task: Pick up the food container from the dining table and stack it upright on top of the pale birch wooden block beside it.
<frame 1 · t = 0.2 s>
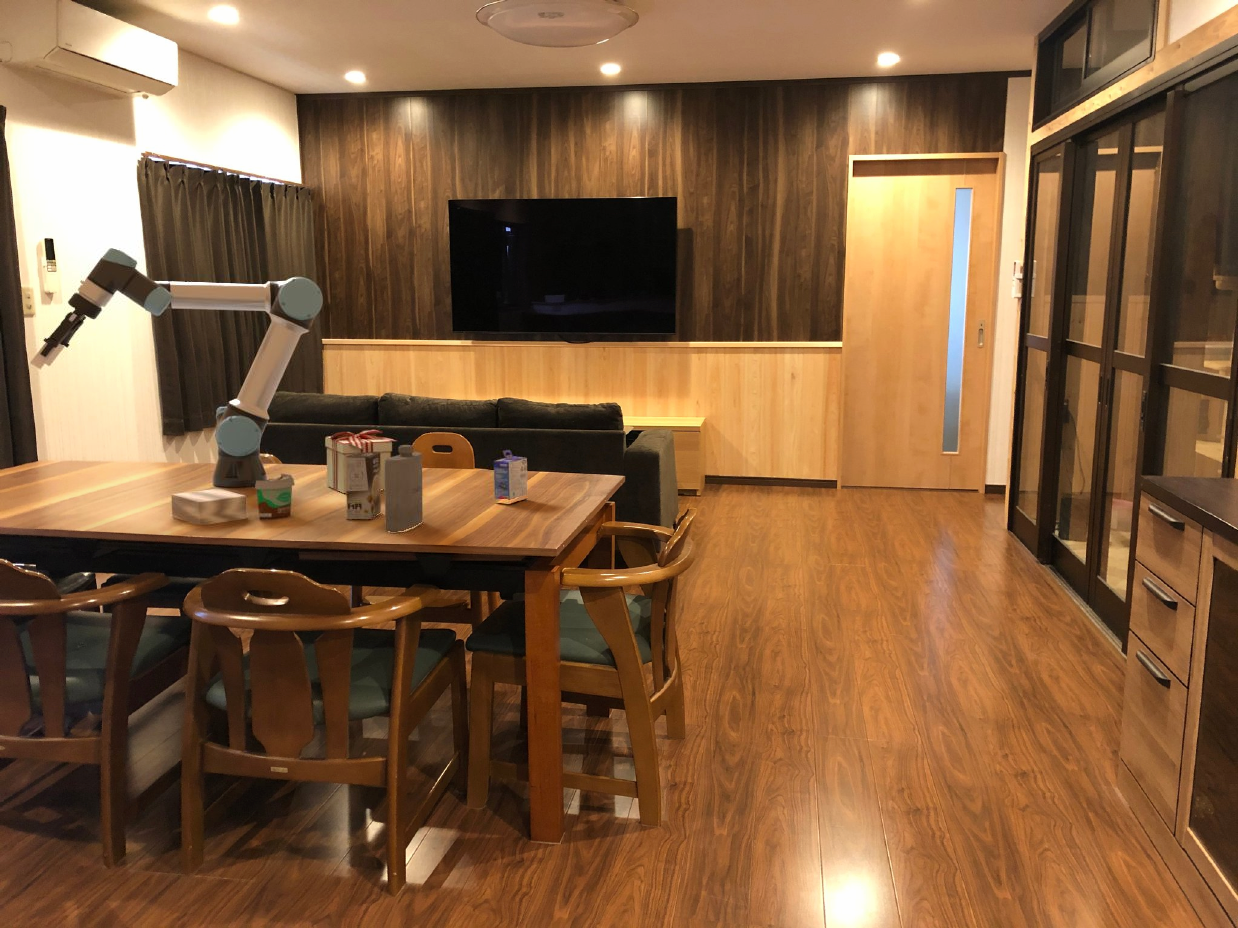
hand: (39, 364, 249), 36 cm above the table, tool tilted 35°, fingers open, 13 cm apart
gift box: (363, 489, 281), on the table
coffee box: (364, 517, 243), on the table
birch block: (209, 518, 237), on the table
flask: (406, 527, 232), on the table
food container: (281, 517, 240), on the table
ink cartridge box: (510, 502, 267), on the table
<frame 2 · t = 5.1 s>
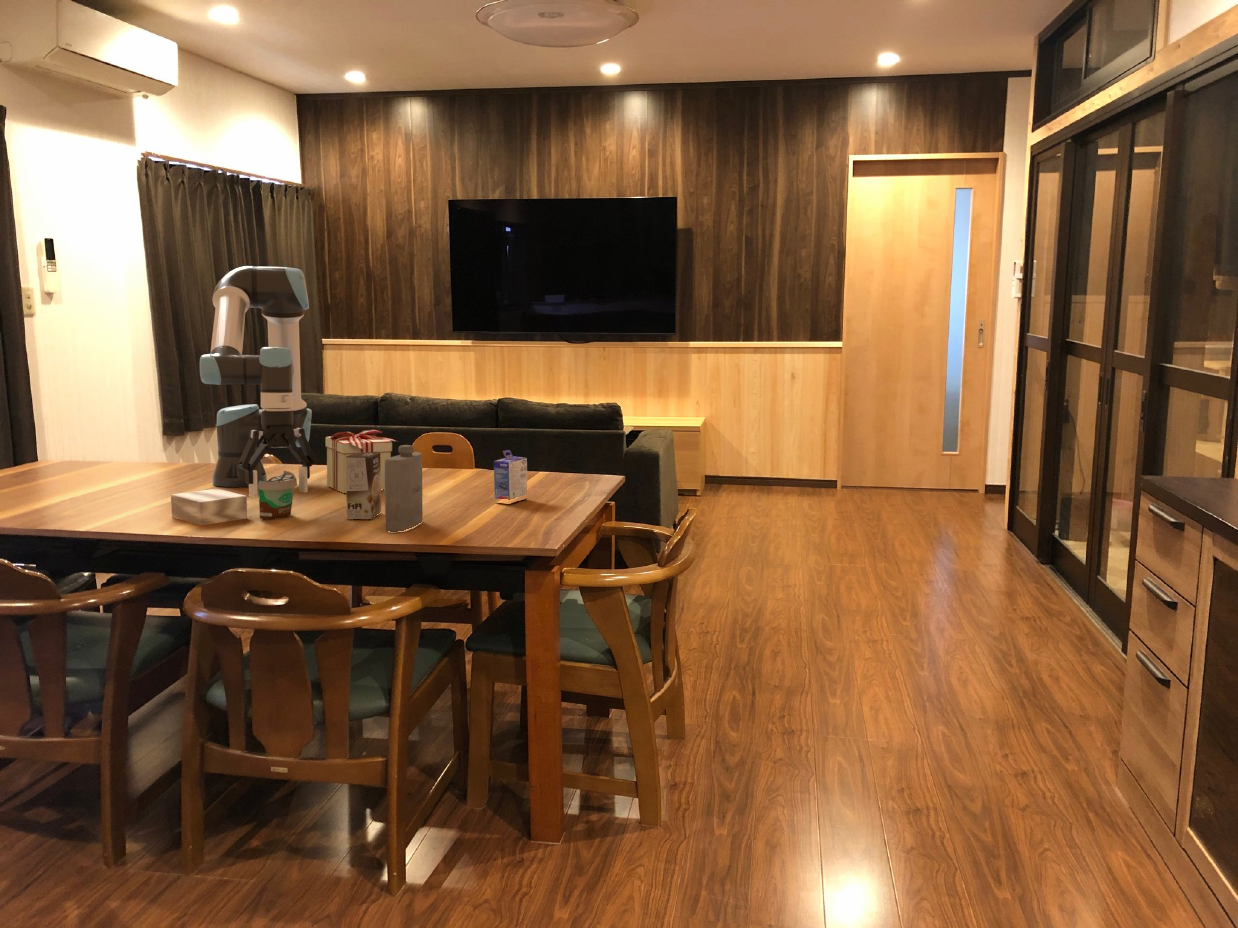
hand: (278, 494, 238), 6 cm above the table, tool pointing down, fingers open, 13 cm apart
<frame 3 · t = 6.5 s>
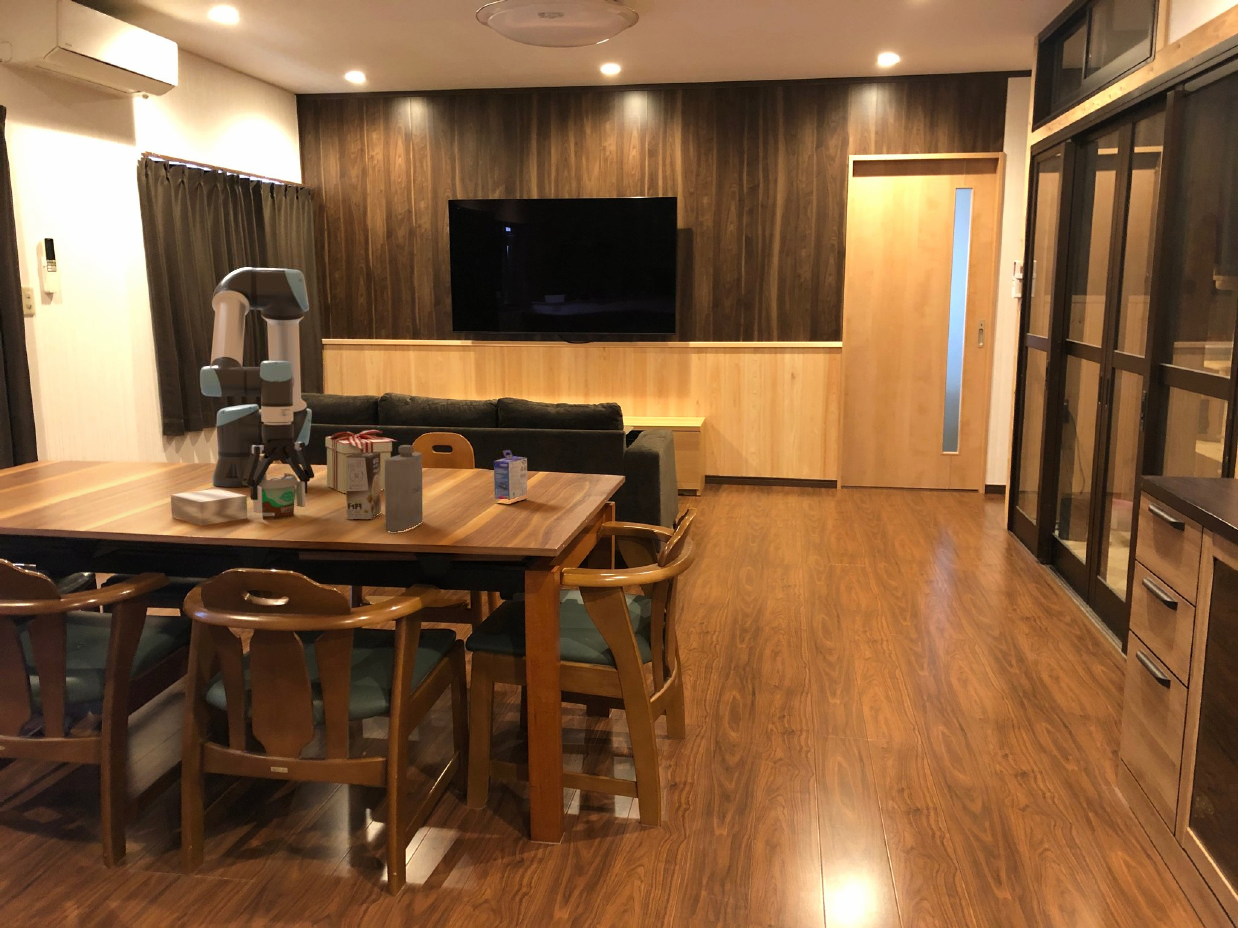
hand: (279, 509, 239), 2 cm above the table, tool pointing down, fingers closed on food container, 11 cm apart
food container: (284, 516, 241), on the table, touching gripper
everything else where it was.
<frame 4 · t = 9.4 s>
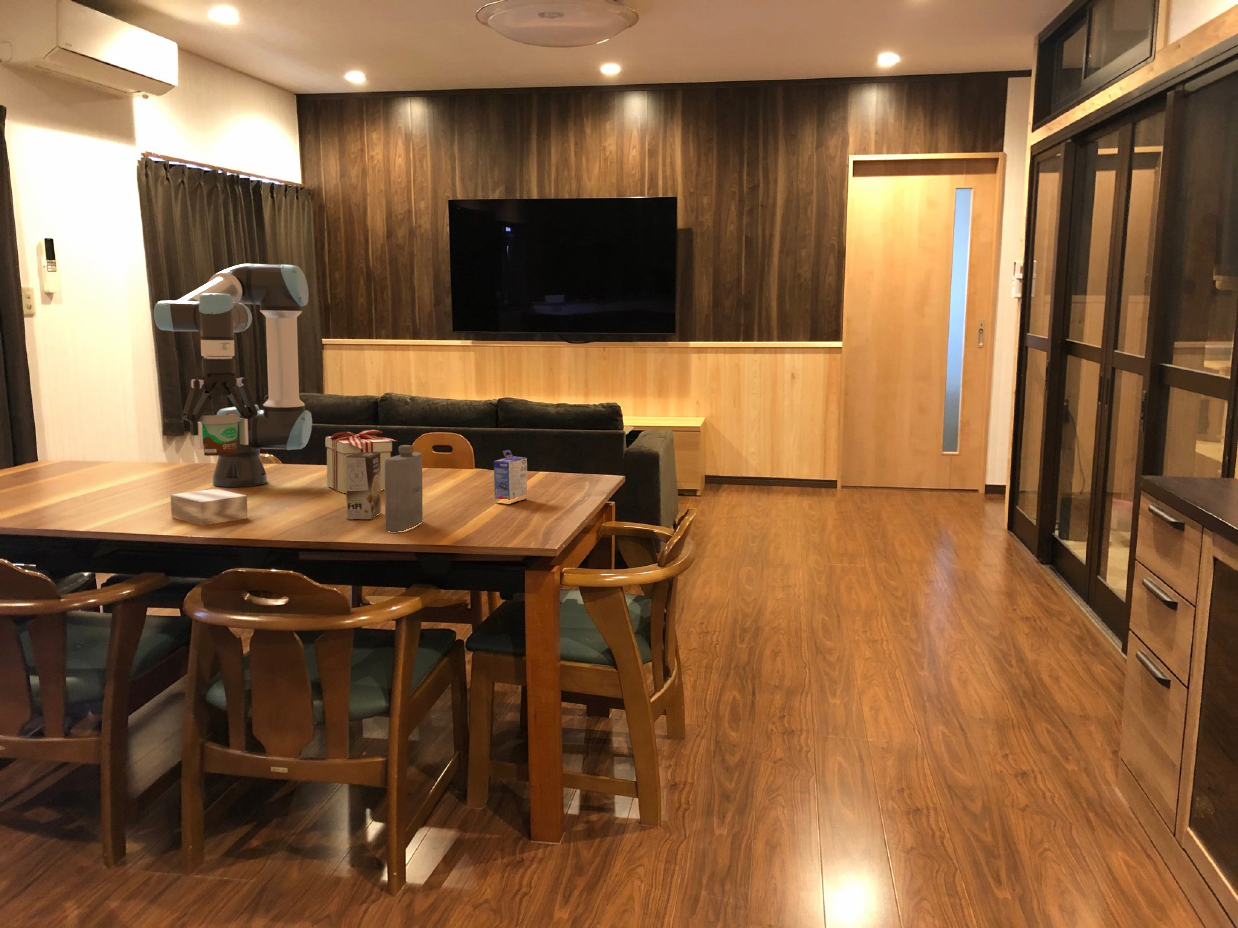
hand: (221, 446, 235), 18 cm above the table, tool pointing down, fingers closed on food container, 11 cm apart
food container: (226, 454, 237), point 16 cm above the table, touching gripper
everything else where it was.
when the fingers open (10 cm above the table, at t = 12.3 s): food container drops 2 cm, resting on birch block.
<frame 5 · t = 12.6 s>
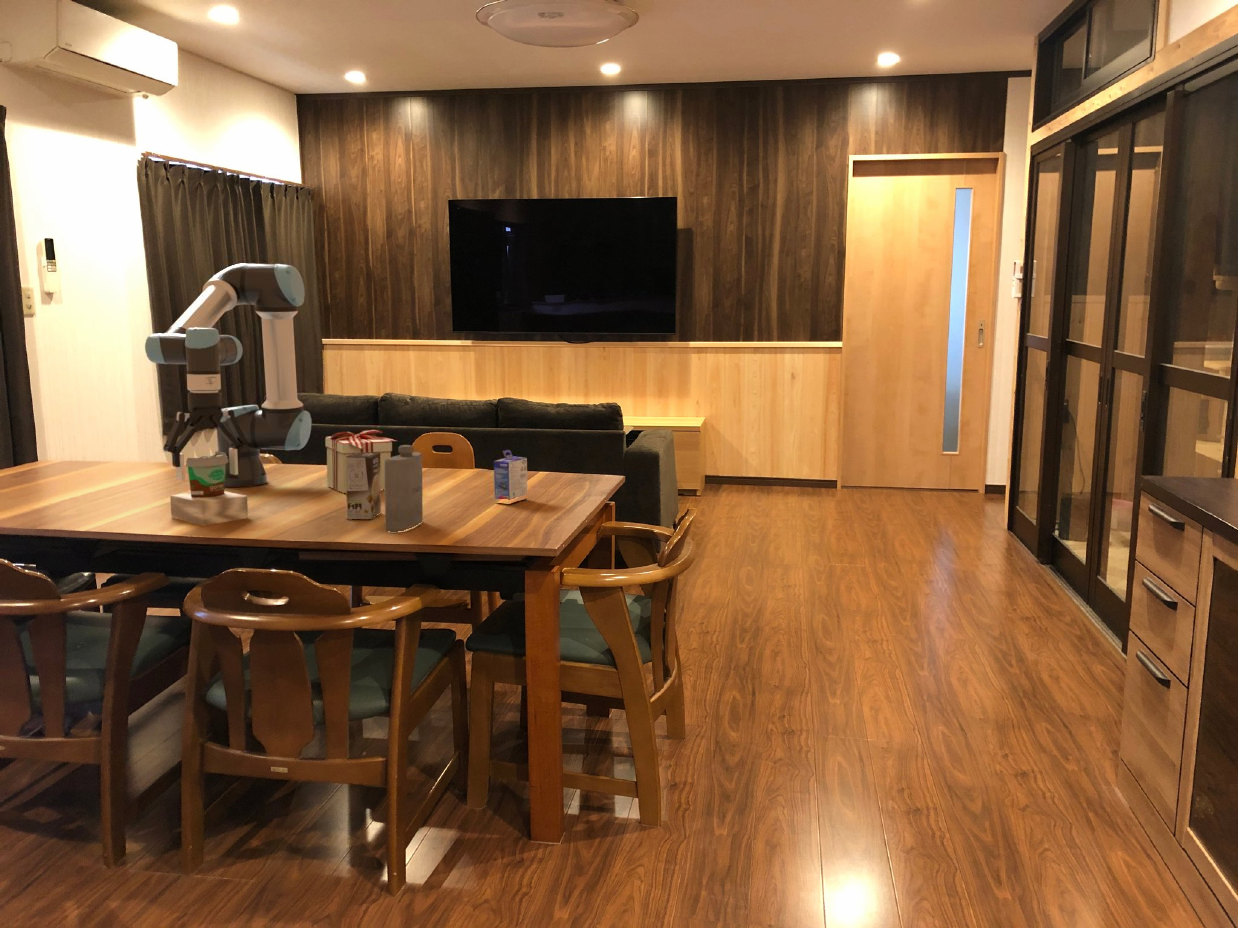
hand: (208, 477, 235), 10 cm above the table, tool pointing down, fingers open, 13 cm apart
birch block: (209, 519, 237), on the table, touching food container
food container: (214, 495, 237), point 5 cm above the table, touching birch block
everything else where it was.
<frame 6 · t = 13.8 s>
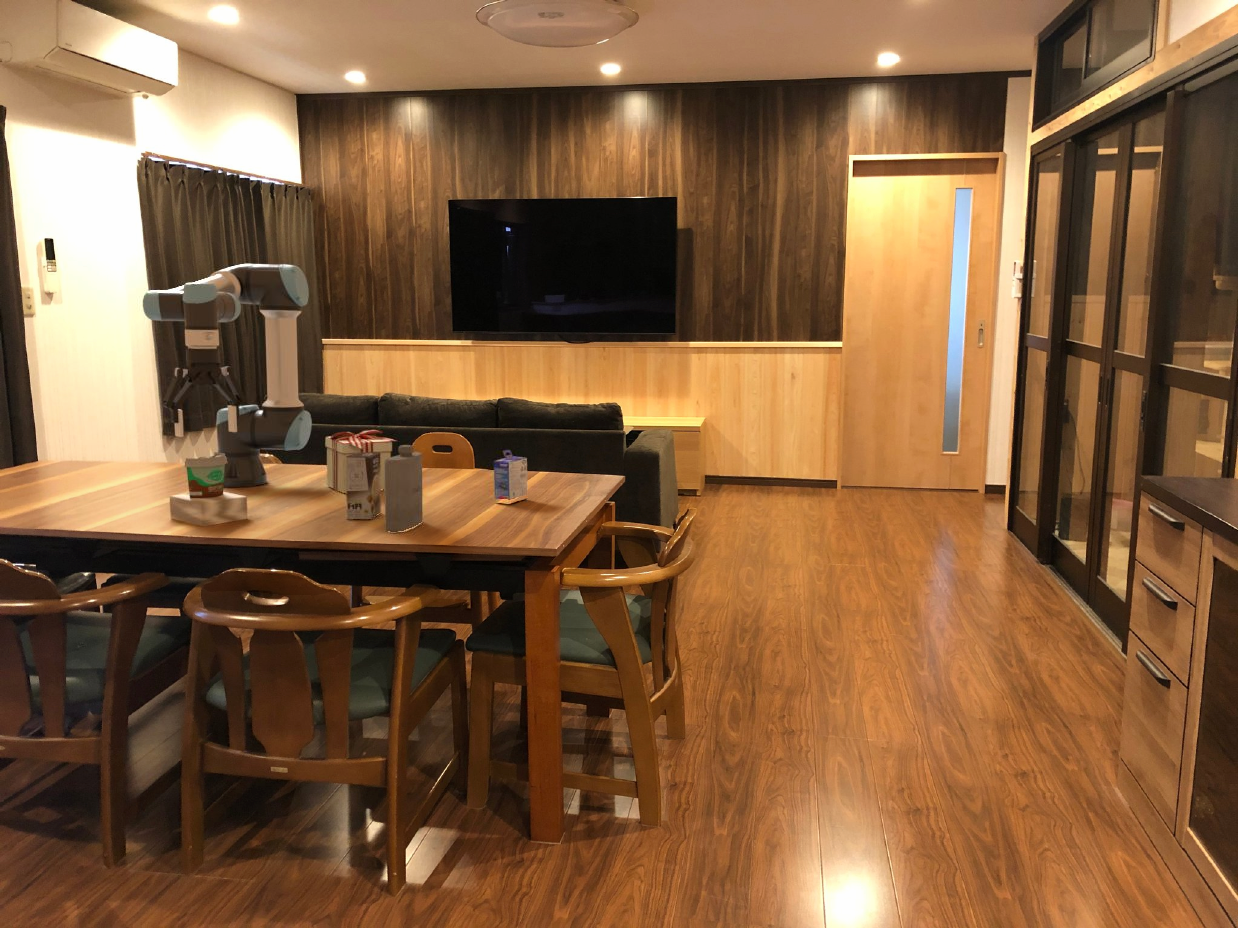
hand: (206, 434, 234), 21 cm above the table, tool pointing down, fingers open, 13 cm apart
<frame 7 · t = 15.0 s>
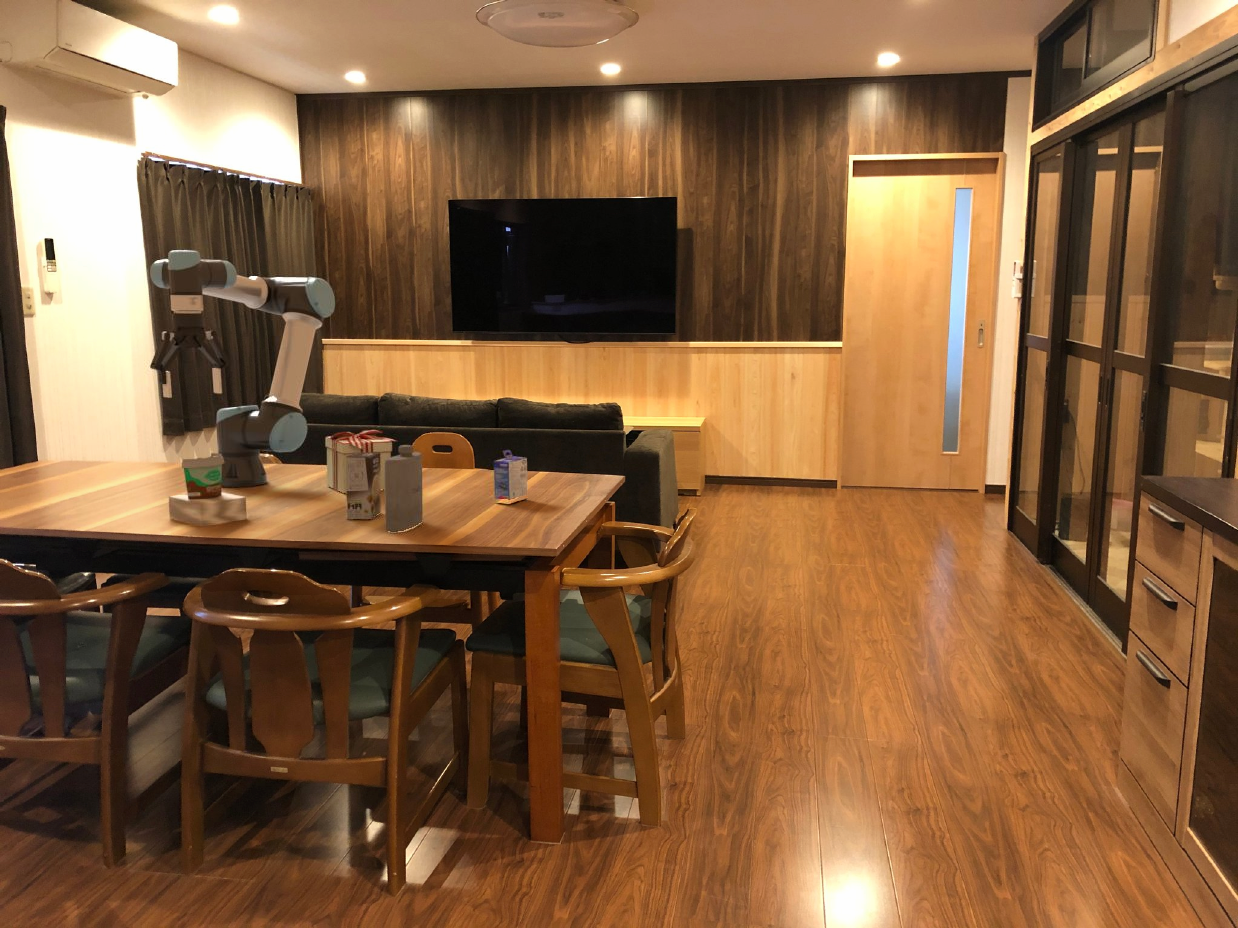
hand: (193, 395, 246), 29 cm above the table, tool pointing down, fingers open, 13 cm apart
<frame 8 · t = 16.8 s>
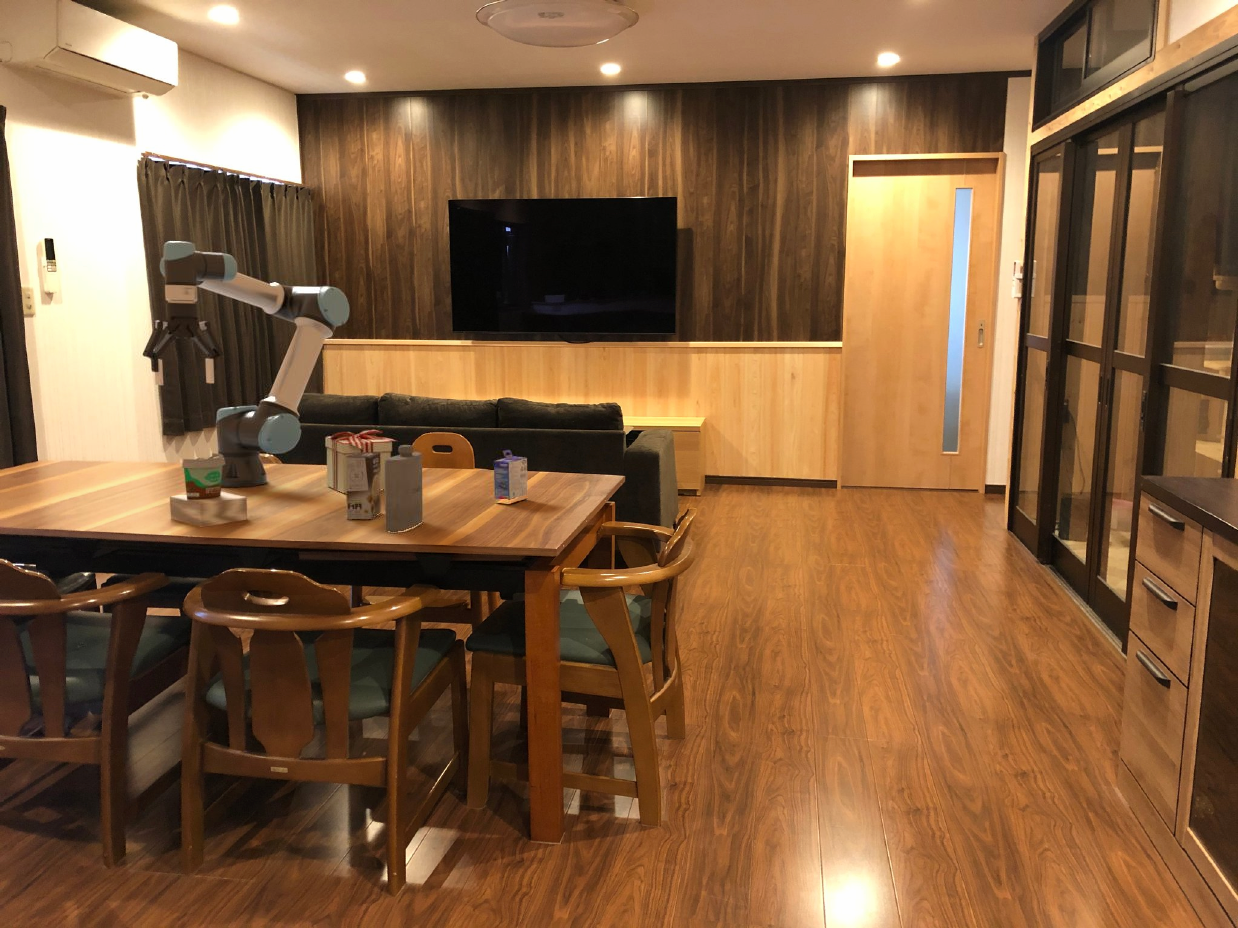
hand: (185, 384, 251), 32 cm above the table, tool pointing down, fingers open, 13 cm apart
at the end: food container inside the target area on the birch block (0.5 cm from its centre), point 5.8 cm above the birch block's base; food container tilted 1°; the gripper is holding nothing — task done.
